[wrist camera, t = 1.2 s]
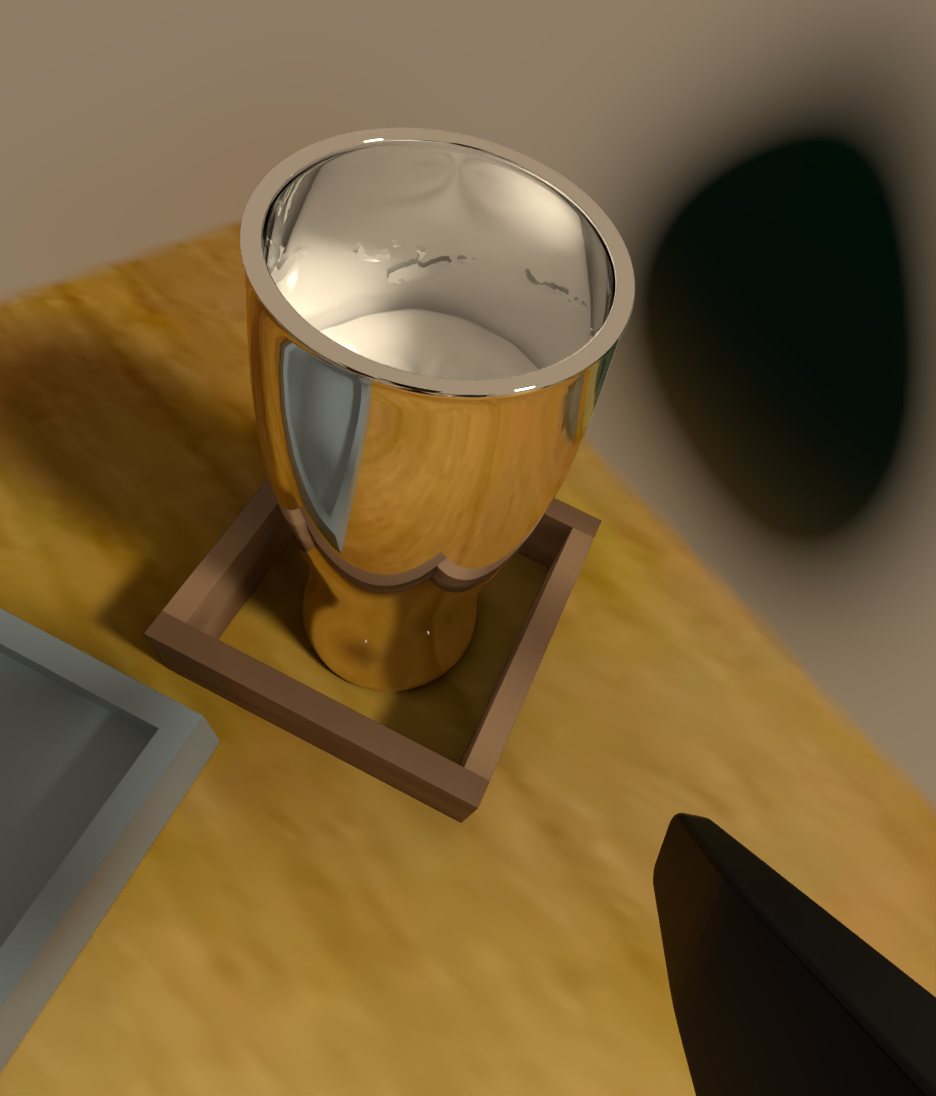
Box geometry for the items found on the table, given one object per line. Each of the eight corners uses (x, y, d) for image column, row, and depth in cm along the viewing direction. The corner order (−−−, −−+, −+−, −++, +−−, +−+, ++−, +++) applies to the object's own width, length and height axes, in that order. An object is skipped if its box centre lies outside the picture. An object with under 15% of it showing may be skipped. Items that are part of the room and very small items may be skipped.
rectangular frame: (461, 822, 21) (477, 807, 18) (167, 668, 22) (143, 633, 19) (575, 560, 26) (601, 520, 24) (336, 444, 27) (335, 393, 25)
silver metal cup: (260, 563, 24) (166, 145, 11) (433, 501, 27) (520, 100, 14) (337, 741, 22) (329, 465, 9) (521, 655, 24) (729, 339, 11)
